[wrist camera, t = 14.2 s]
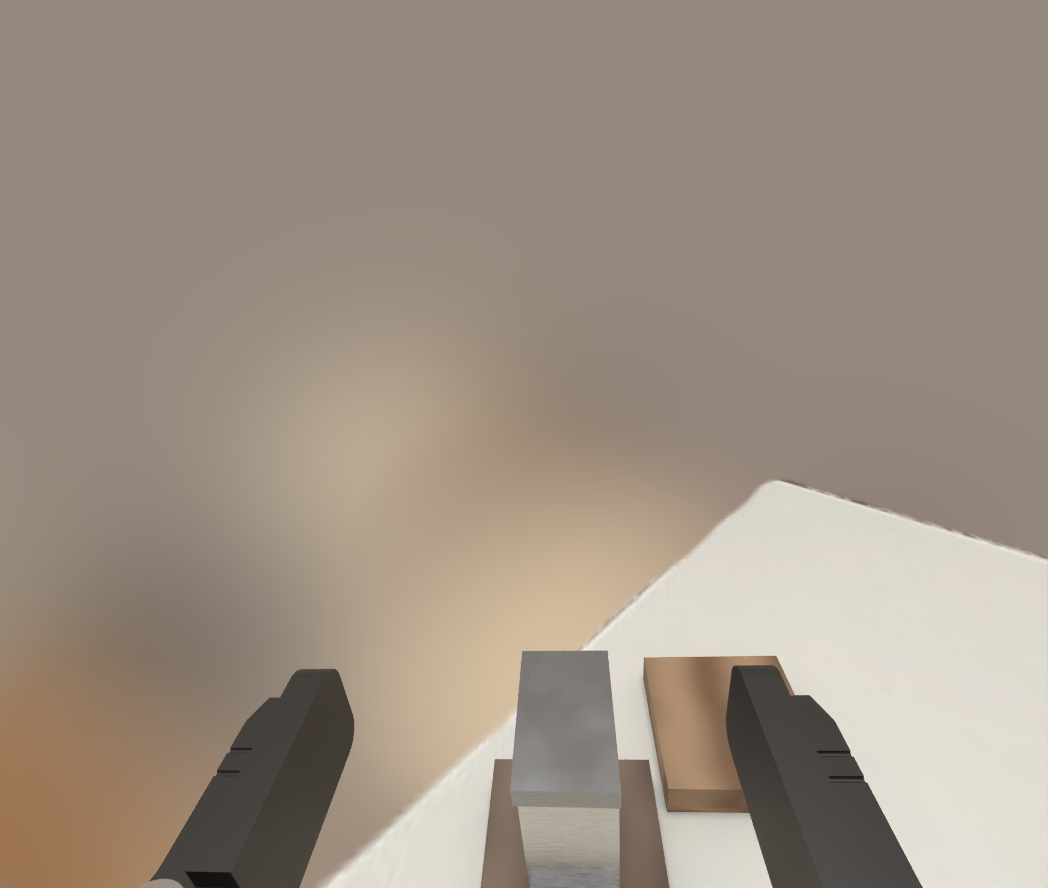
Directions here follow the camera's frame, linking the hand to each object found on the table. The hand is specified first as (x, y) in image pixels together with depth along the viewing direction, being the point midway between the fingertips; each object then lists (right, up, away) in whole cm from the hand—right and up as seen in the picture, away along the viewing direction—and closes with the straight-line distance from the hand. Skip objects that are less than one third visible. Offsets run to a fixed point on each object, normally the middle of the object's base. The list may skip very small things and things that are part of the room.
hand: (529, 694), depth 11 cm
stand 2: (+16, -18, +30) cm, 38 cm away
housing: (+3, -20, +22) cm, 30 cm away
